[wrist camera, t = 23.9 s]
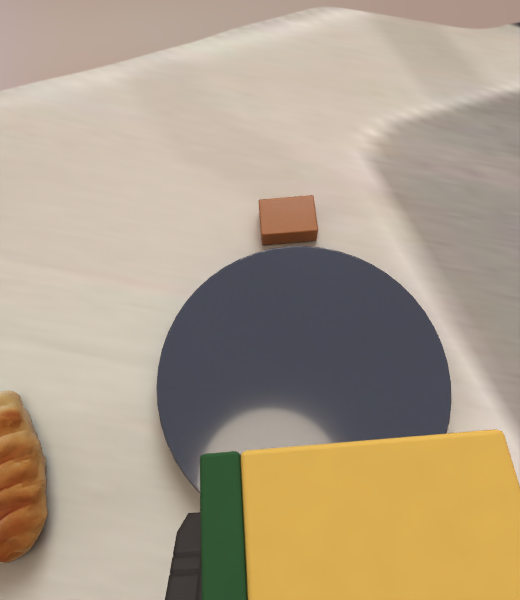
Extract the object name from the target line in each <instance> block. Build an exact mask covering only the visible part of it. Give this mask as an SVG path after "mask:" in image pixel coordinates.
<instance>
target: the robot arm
mask: <svg viewBox="0 0 520 600" xmlns="http://www.w3.org/2000/svg"><path fill="white" fill-rule="evenodd" d="M165 600H202V586H201V512H199V513H188V515H187V517H186V518H185V520H184V522H183V523H182V525H181V526H180V528H179V530H178V531H177V535H176V541H175V546H174V552H173V558H172V563H171V569H170V575H169V580H168V586H167V592H166V597H165Z"/></svg>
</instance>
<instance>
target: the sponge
mask: <svg viewBox="0 0 520 600" xmlns="http://www.w3.org/2000/svg"><path fill="white" fill-rule="evenodd" d="M200 511H201V586H202V600H520V486H519V483H518V479H517V476H516V473H515V470H514V466H513V463H512V460H511V456H510V453H509V450H508V446H507V443H506V440H505V436H504V434H503V433H502V431H499V430H484V431H472V432H460V433H448V434H436V435H425V436H413V437H401V438H389V439H377V440H365V441H353V442H341V443H329V444H318V445H306V446H294V447H282V448H270V449H258V450H246V451H244V452H242V454H241V455H240V454H239V453H238V452H236V451H232V452H220V453H208V454H203V455H201V457H200Z"/></svg>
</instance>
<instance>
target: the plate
mask: <svg viewBox="0 0 520 600" xmlns="http://www.w3.org/2000/svg"><path fill="white" fill-rule="evenodd" d="M157 405H158V411H159V416H160V422H161V426H162V429H163V432H164V435H165V439H166V442H167V444H168V446H169V448H170V451H171V453H172V455H173V457H174V459H175V461H176V463H177V464H178V466H179V467H180V469H181V470H182V472H183V473H184V475H185V476H186V478H187V479H188V481H189V482H190V483H191V484H192V485H193V486H194V487H195V489H196V490H197V491H198V492H199V493H200V457H201V455H203V454H208V453H220V452H232V451H236V452H238V453H239V454H240V455H241V454H242V452H244V451H246V450H258V449H270V448H282V447H294V446H306V445H318V444H329V443H341V442H353V441H365V440H377V439H389V438H401V437H413V436H425V435H436V434H446V433H447V429H448V425H449V419H450V410H451V381H450V375H449V369H448V363H447V360H446V356H445V353H444V350H443V346H442V344H441V341H440V339H439V337H438V335H437V333H436V330H435V328H434V326H433V325H432V323H431V321H430V320H429V318H428V316H427V315H426V313H425V311H424V310H423V309H422V308H421V306H420V305H419V304H418V303H417V301H416V300H415V299H414V297H413V296H412V295H411V294H410V293H409V292H408V291H407V290H406V289H405V288H404V287H403V286H402V285H401V284H399V283H398V282H397V281H395V280H394V279H393V278H392V277H390V276H389V275H388V274H387V273H385V272H383V271H382V270H380V269H378V268H377V267H375V266H374V265H372V264H370V263H368V262H366V261H364V260H361V259H359V258H357V257H355V256H352V255H349V254H346V253H343V252H340V251H335V250H330V249H326V248H319V247H308V246H294V247H282V248H275V249H269V250H266V251H262V252H258V253H254V254H252V255H249V256H247V257H244V258H242V259H239V260H237V261H235V262H233V263H232V264H230V265H228V266H226V267H224V268H223V269H221V270H220V271H218V272H217V273H216V274H214V275H213V276H211V277H210V278H209V279H208V280H207V281H206V282H204V283H203V284H202V285H201V286H200V287H199V288H198V289H197V290H196V291H195V292H194V293H193V294H192V296H191V297H190V298H189V299H188V300H187V301H186V303H185V304H184V306H183V307H182V309H181V310H180V312H179V313H178V315H177V316H176V318H175V320H174V322H173V324H172V326H171V328H170V330H169V332H168V334H167V337H166V340H165V343H164V346H163V348H162V352H161V357H160V361H159V366H158V376H157Z"/></svg>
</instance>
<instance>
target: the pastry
mask: <svg viewBox="0 0 520 600" xmlns="http://www.w3.org/2000/svg"><path fill="white" fill-rule="evenodd" d="M45 473H46V458H45V457H44V455H43V453H42V448H41V445H40V442H39V440H38V438H37V434H36V432H35V430H34V427H33V425H32V421H31V418H30V415H29V413H28V412H27V410H26V409H25V408H24V407H23V403H22V401H21V398H20V396H19V395H18V394H17V393H15V392H13V391H3V392H0V562H4V563H5V562H11V561H14V560H16V559H17V558H19V557H21V556H22V555H24V554H25V553H26V552H27V551H28V550H30V548H31V547H32V546H33V544H34V543H35V541H36V540H37V538H38V537H39V535H40V533H41V531H42V529H43V527H44V524H45V521H46V518H47V515H48V510H47V506H46V502H47V497H46V477H45Z"/></svg>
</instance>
